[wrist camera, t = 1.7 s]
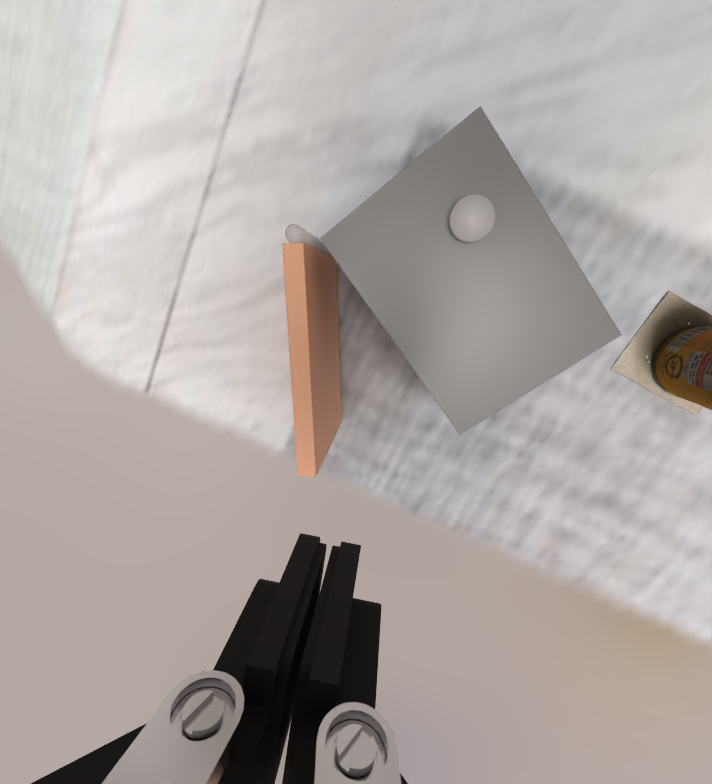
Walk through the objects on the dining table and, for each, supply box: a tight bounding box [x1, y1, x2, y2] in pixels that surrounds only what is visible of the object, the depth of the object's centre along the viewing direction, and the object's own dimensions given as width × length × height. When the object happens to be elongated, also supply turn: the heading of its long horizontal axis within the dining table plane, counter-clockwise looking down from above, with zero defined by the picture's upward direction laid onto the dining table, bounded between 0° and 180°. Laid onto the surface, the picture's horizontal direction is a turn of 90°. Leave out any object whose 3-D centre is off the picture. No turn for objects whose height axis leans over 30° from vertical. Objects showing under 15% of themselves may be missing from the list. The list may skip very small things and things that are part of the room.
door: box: [283, 224, 342, 477], centre depth 30 cm, size 2×15×12 cm, turn 1°
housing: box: [320, 107, 621, 434], centre depth 28 cm, size 11×15×12 cm
